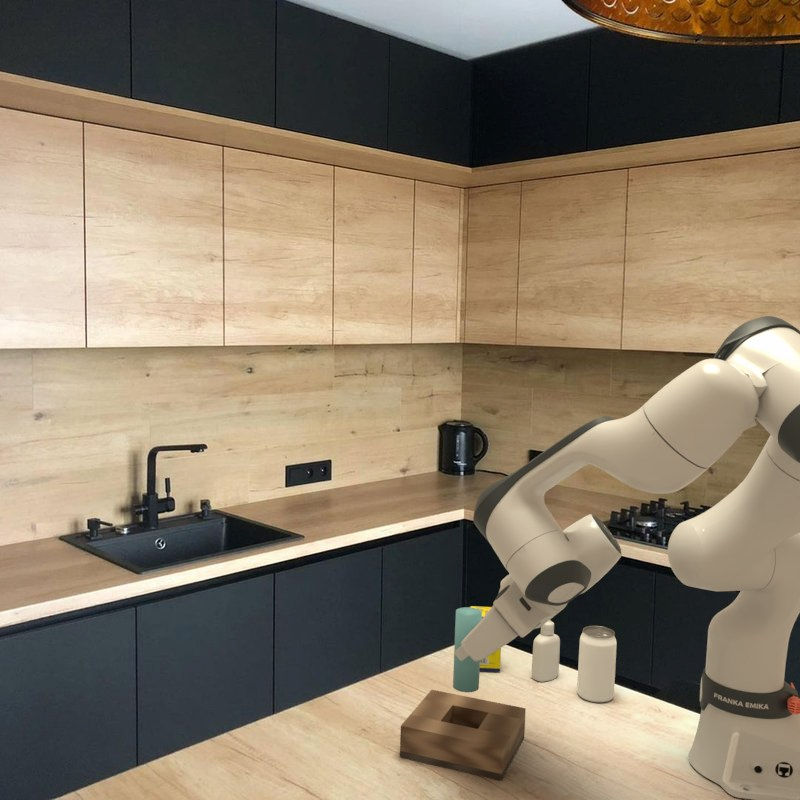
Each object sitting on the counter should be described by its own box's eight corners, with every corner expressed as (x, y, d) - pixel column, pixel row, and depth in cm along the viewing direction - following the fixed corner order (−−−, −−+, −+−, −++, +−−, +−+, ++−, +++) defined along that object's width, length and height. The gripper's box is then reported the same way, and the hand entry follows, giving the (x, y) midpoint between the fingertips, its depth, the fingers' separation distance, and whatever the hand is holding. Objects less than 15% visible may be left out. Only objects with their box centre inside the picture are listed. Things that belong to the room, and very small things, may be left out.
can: (614, 705, 151) (618, 639, 150) (576, 701, 152) (580, 635, 151) (612, 690, 157) (616, 626, 156) (576, 686, 158) (580, 623, 157)
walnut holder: (524, 738, 138) (525, 708, 137) (501, 780, 125) (503, 747, 125) (430, 718, 144) (431, 689, 143) (399, 756, 131) (400, 725, 130)
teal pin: (481, 684, 134) (484, 609, 133) (474, 694, 130) (477, 617, 129) (457, 679, 136) (460, 605, 135) (449, 689, 132) (452, 613, 131)
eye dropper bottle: (527, 672, 164) (530, 611, 162) (555, 672, 164) (558, 611, 163) (534, 682, 159) (537, 620, 158) (563, 681, 160) (566, 619, 159)
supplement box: (500, 673, 163) (503, 617, 162) (469, 671, 163) (471, 616, 162) (497, 660, 169) (500, 606, 168) (467, 659, 169) (469, 605, 168)
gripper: (530, 563, 139) (469, 612, 143) (497, 599, 120) (429, 655, 124) (556, 593, 137) (494, 643, 142) (527, 636, 118) (457, 691, 123)
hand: (463, 649), depth 133 cm, fingers closed on teal pin, 4 cm apart
